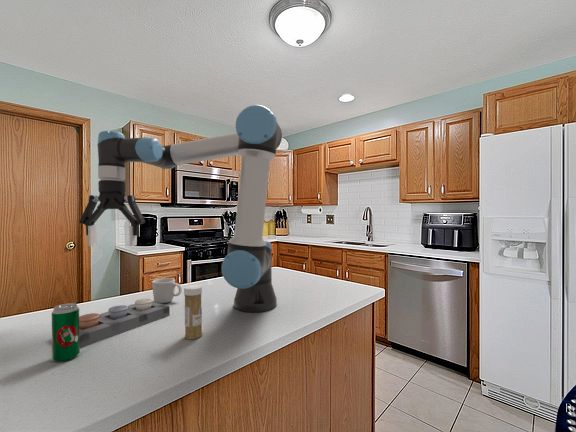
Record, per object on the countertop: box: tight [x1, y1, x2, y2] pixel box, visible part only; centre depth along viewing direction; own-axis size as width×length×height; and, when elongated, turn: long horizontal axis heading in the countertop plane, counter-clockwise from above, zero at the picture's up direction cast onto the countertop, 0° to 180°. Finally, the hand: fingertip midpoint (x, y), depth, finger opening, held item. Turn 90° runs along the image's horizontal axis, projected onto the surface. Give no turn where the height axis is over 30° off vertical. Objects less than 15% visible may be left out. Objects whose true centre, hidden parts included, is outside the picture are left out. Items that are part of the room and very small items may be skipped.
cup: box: [151, 277, 183, 304], centre depth 109 cm, size 11×8×8 cm
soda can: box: [51, 302, 81, 363], centre depth 67 cm, size 5×5×12 cm
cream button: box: [134, 297, 153, 311], centre depth 93 cm, size 5×5×3 cm
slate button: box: [107, 304, 129, 320], centre depth 86 cm, size 5×5×3 cm
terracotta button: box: [79, 312, 101, 330], centre depth 79 cm, size 5×5×3 cm
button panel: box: [79, 301, 170, 349], centre depth 86 cm, size 12×26×3 cm, turn 149°
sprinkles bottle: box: [183, 284, 203, 340], centre depth 78 cm, size 5×5×13 cm
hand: (112, 245), depth 95 cm, fingers open, 13 cm apart
